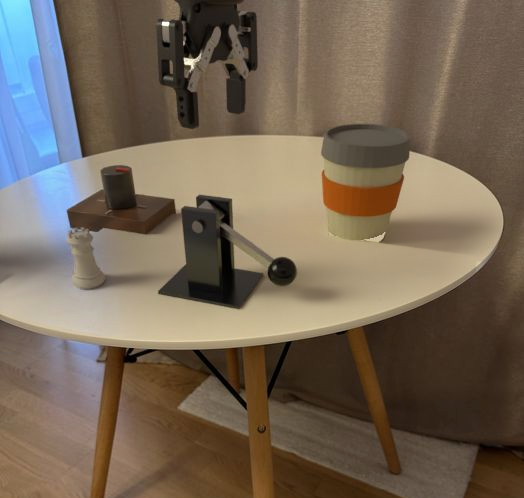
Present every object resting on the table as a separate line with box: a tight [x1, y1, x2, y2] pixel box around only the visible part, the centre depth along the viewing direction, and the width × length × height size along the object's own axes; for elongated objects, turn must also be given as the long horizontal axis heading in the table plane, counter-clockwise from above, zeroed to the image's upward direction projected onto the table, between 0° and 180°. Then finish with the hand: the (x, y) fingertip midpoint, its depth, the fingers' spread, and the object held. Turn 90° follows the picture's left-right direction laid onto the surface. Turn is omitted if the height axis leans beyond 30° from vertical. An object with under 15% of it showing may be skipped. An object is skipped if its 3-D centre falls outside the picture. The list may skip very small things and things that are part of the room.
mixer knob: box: [99, 164, 137, 209], centre depth 87 cm, size 5×5×6 cm
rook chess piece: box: [65, 227, 106, 290], centre depth 70 cm, size 4×4×8 cm
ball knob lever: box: [198, 201, 298, 288], centre depth 66 cm, size 14×4×4 cm
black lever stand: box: [157, 194, 265, 310], centre depth 68 cm, size 11×9×12 cm
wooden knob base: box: [66, 188, 177, 235], centre depth 89 cm, size 14×10×3 cm
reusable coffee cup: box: [320, 123, 411, 241], centre depth 82 cm, size 13×13×15 cm
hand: (213, 120), depth 63 cm, fingers open, 8 cm apart
